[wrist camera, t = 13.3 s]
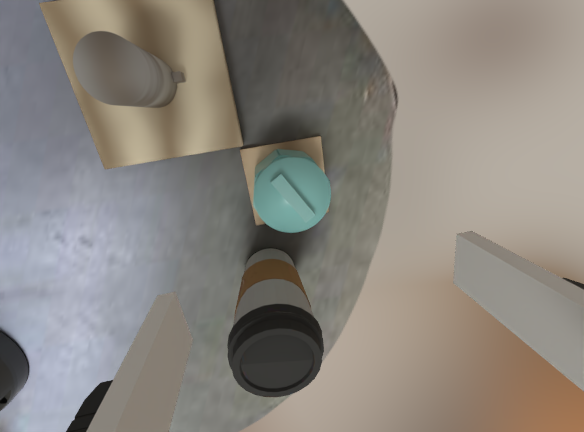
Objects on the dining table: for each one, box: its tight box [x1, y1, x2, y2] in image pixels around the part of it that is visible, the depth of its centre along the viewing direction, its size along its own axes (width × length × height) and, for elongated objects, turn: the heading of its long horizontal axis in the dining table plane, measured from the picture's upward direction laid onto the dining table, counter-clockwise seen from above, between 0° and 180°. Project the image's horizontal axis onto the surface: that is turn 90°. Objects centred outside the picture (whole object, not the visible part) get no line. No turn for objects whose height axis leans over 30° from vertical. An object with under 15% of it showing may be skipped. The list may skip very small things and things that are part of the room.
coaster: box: [240, 136, 329, 225], centre depth 32 cm, size 9×9×1 cm
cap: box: [253, 149, 331, 233], centre depth 29 cm, size 7×7×7 cm
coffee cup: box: [228, 248, 324, 397], centre depth 29 cm, size 8×8×15 cm
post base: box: [39, 0, 244, 169], centre depth 23 cm, size 14×14×10 cm
